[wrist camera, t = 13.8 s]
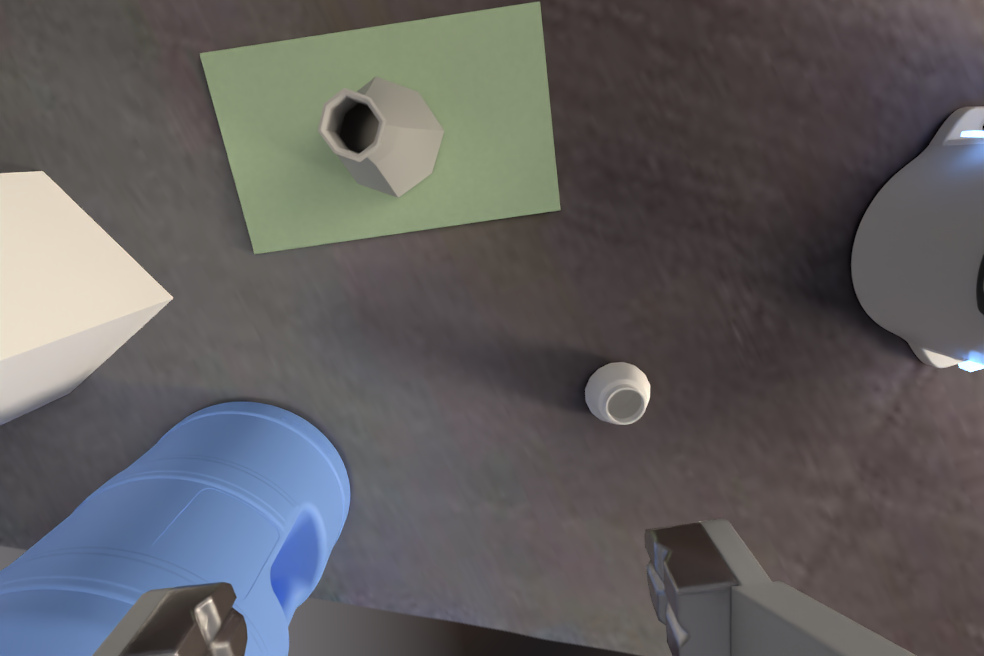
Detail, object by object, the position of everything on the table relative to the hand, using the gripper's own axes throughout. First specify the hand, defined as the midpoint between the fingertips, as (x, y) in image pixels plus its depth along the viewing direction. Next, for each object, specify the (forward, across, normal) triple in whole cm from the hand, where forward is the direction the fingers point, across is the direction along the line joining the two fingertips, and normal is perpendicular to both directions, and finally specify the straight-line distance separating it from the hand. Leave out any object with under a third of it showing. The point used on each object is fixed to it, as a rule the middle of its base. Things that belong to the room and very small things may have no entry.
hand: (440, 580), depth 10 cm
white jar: (+29, -10, +10) cm, 32 cm away
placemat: (+29, +4, -11) cm, 31 cm away
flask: (+29, +4, -10) cm, 31 cm away
